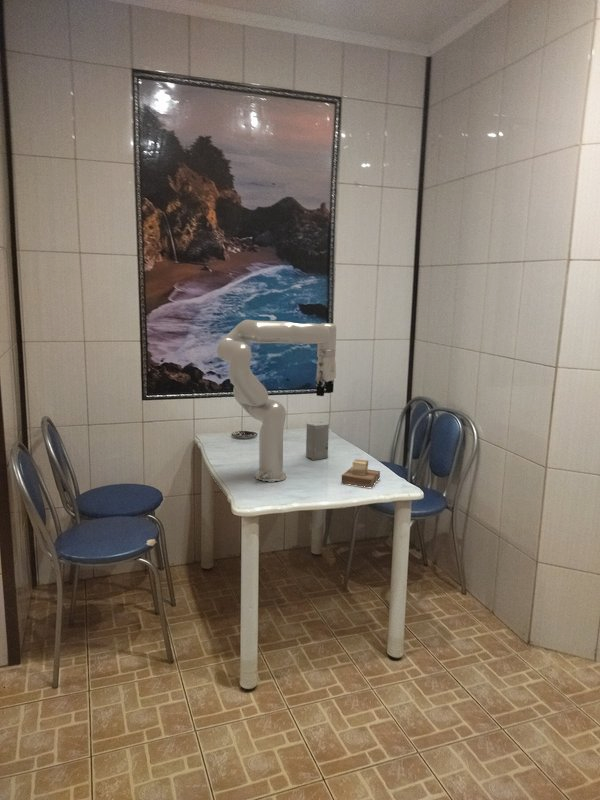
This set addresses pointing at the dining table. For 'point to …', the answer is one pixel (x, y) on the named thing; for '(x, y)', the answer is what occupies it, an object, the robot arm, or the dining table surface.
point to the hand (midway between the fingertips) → (324, 394)
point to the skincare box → (317, 440)
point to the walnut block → (361, 478)
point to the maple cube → (360, 467)
